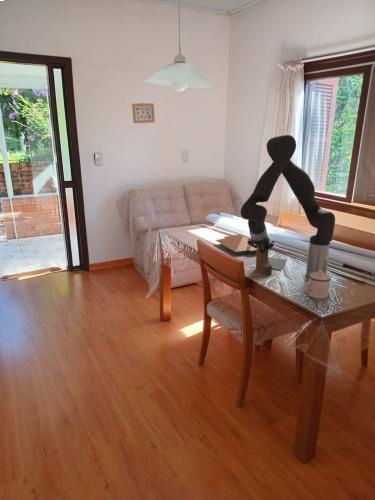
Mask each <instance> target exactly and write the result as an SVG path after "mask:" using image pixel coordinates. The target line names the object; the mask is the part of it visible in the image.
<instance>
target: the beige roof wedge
mask: <svg viewBox="0 0 375 500" xmlns="http://www.w3.org/2000/svg"><path fill="white" fill-rule="evenodd" d="M248 238H250V239H251V237H249V236H246V235H244V234H241V233H239V234H232V235H228V236H223V238H220V239H215V241H216V242H218V243H219V244H220V245H221V248H222V249H224V250H226V251H227V250H228V252H229V253H230V254H233V255H237V256H238V257H239V256H240V253H241V252H242V254H243V256H245V255H249V253H251V254H256V255H257V248H254V247H252V246H251V245H249V244H248V243H247V242H248ZM254 245H255V244H254Z"/></svg>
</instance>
